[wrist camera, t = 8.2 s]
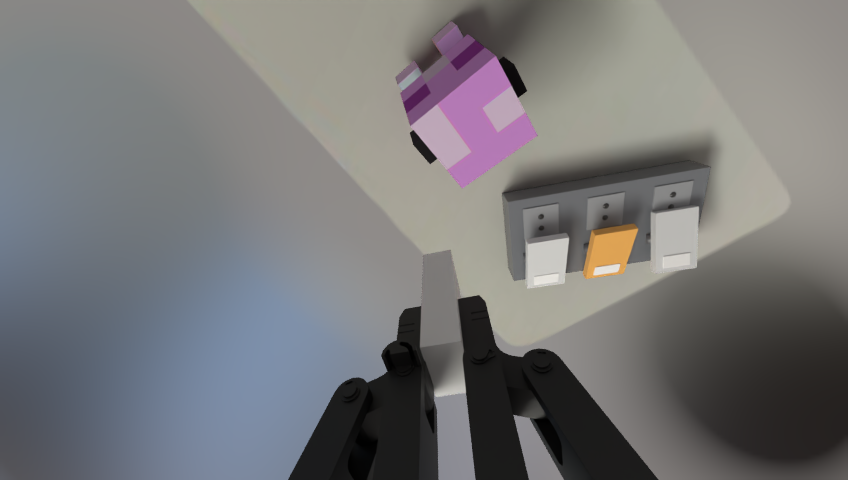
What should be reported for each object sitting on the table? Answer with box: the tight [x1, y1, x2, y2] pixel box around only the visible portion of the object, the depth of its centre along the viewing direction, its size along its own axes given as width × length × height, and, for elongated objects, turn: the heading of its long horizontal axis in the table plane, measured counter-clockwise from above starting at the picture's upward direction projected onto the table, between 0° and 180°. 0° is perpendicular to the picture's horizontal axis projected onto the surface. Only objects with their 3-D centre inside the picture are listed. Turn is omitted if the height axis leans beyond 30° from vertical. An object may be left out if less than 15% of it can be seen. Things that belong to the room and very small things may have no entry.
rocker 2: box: [583, 224, 638, 279], centre depth 42 cm, size 8×5×1 cm, turn 10°
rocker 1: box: [526, 233, 569, 289], centre depth 42 cm, size 8×5×1 cm, turn 10°
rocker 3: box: [651, 205, 699, 274], centre depth 41 cm, size 8×5×1 cm, turn 11°
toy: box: [396, 21, 538, 188], centre depth 32 cm, size 11×8×15 cm
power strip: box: [502, 161, 711, 281], centre depth 43 cm, size 12×24×4 cm, turn 101°
